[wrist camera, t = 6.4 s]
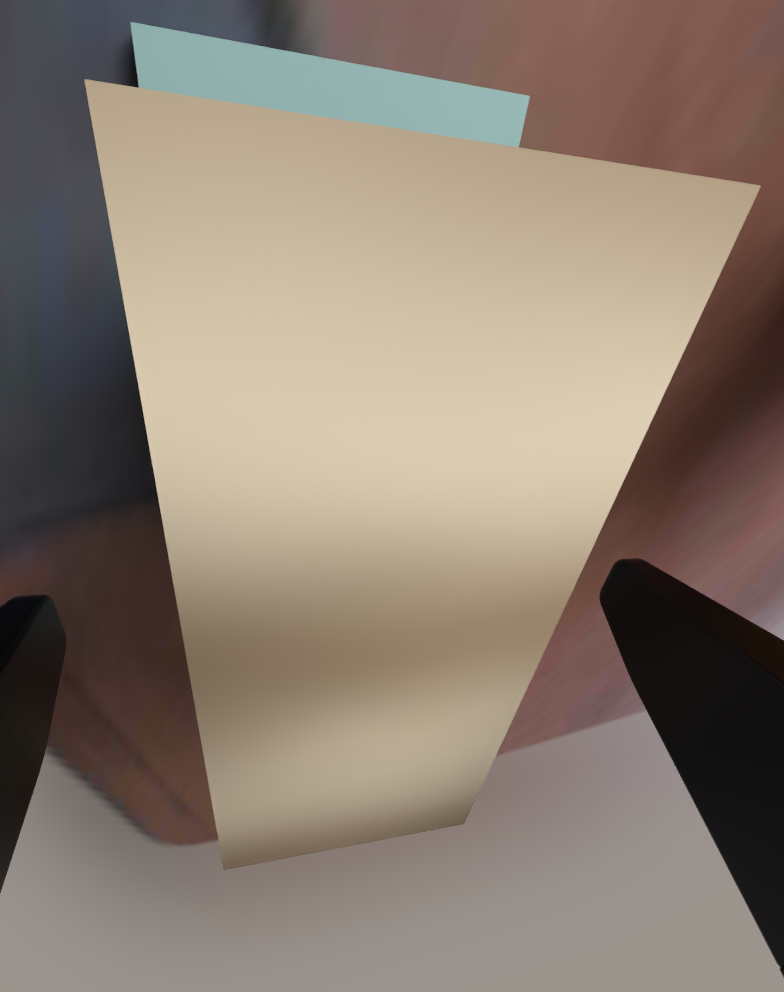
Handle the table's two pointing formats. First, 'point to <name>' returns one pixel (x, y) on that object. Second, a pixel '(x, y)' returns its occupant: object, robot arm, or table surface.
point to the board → (383, 430)
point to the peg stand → (323, 87)
